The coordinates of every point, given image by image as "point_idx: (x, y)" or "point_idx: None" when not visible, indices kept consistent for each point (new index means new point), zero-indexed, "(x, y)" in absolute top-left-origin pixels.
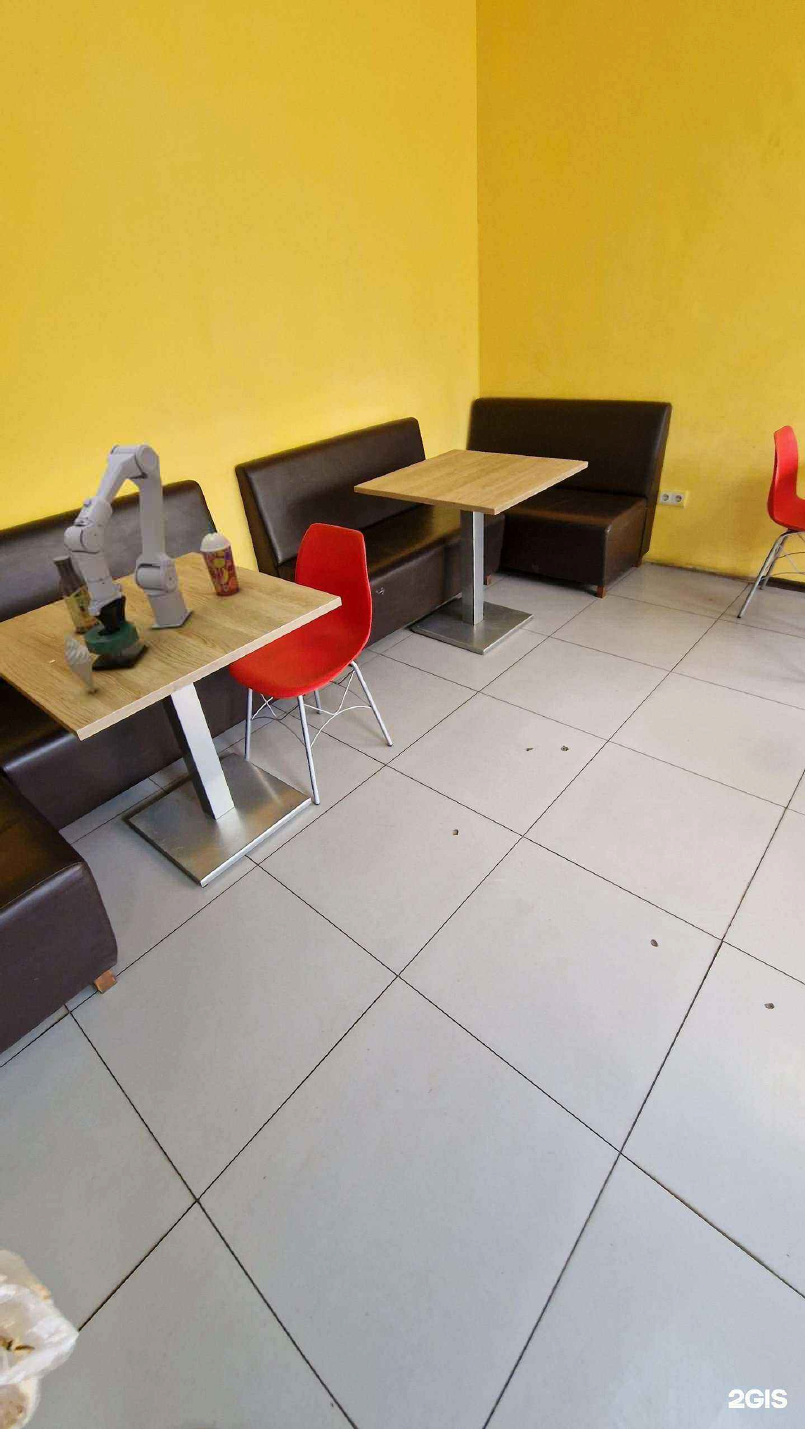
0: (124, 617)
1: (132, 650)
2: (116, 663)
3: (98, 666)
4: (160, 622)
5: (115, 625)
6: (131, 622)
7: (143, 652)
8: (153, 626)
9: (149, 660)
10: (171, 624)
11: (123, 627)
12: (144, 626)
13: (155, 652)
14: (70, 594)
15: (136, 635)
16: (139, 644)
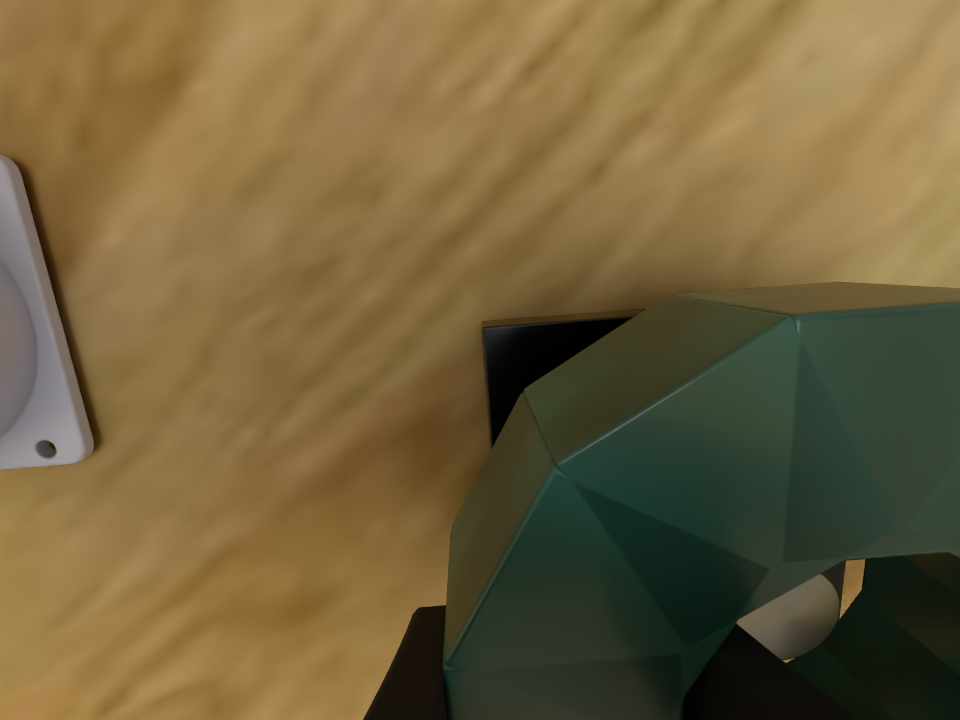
0: (410, 715)
1: None
2: None
3: (844, 566)
4: (3, 376)
5: (836, 707)
6: (584, 484)
7: (569, 314)
8: (66, 444)
9: (727, 183)
10: (2, 261)
11: (789, 540)
12: (50, 548)
13: (575, 193)
14: None
15: (757, 294)
16: (488, 387)
